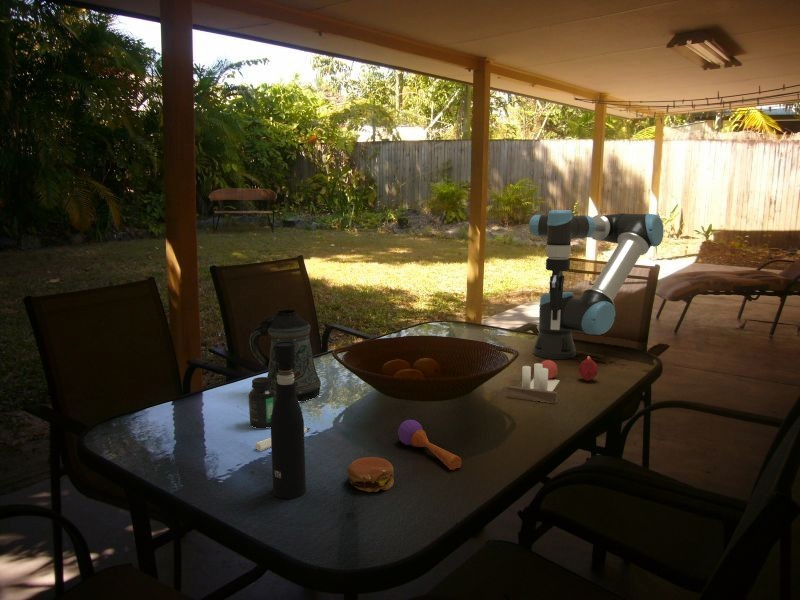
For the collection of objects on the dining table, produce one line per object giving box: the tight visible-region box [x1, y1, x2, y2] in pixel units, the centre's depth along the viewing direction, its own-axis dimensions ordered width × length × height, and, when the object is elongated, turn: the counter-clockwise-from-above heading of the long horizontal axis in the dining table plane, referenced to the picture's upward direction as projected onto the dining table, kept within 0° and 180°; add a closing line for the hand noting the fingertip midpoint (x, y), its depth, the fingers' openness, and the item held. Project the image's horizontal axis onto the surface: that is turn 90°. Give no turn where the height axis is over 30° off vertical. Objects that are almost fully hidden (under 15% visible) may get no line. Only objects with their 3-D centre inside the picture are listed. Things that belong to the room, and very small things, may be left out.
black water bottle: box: [270, 342, 307, 500], centre depth 118 cm, size 6×6×30 cm
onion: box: [578, 355, 599, 382], centre depth 191 cm, size 6×6×8 cm
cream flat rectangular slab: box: [530, 377, 560, 392], centre depth 188 cm, size 13×8×1 cm, turn 155°
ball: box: [540, 359, 559, 379], centre depth 194 cm, size 6×6×6 cm
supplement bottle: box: [248, 376, 276, 428], centre depth 154 cm, size 7×7×12 cm
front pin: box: [533, 362, 543, 390], centre depth 180 cm, size 2×2×8 cm
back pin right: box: [521, 365, 532, 388], centre depth 177 cm, size 2×2×8 cm
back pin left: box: [539, 368, 548, 391], centre depth 175 cm, size 2×2×8 cm
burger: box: [346, 456, 395, 493], centre depth 123 cm, size 10×9×5 cm
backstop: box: [506, 385, 558, 405], centre depth 174 cm, size 2×14×3 cm, turn 65°
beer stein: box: [248, 309, 322, 402], centre depth 176 cm, size 16×19×25 cm
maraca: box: [397, 419, 463, 471], centre depth 137 cm, size 6×6×20 cm
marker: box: [254, 427, 311, 452], centre depth 145 cm, size 3×2×16 cm
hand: (555, 329), depth 200 cm, fingers closed
